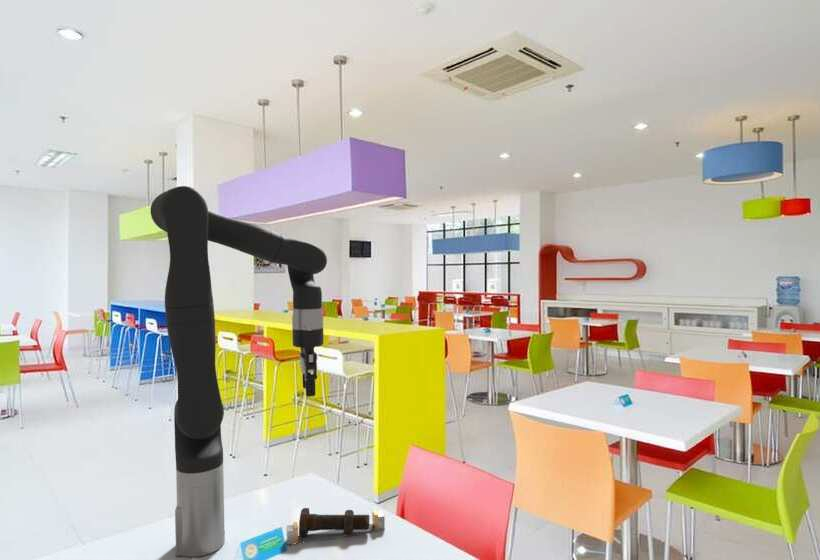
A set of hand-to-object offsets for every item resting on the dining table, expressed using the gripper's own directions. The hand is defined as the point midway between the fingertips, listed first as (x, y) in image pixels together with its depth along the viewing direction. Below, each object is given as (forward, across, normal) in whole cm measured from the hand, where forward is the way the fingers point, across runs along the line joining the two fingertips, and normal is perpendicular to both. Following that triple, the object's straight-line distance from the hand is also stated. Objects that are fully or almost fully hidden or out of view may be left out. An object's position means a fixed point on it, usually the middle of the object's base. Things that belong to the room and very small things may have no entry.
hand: (308, 391), depth 125 cm
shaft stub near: (+28, +16, -6) cm, 33 cm away
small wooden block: (+28, +16, +14) cm, 35 cm away
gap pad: (+28, +16, +4) cm, 33 cm away
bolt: (+28, +16, +4) cm, 33 cm away
